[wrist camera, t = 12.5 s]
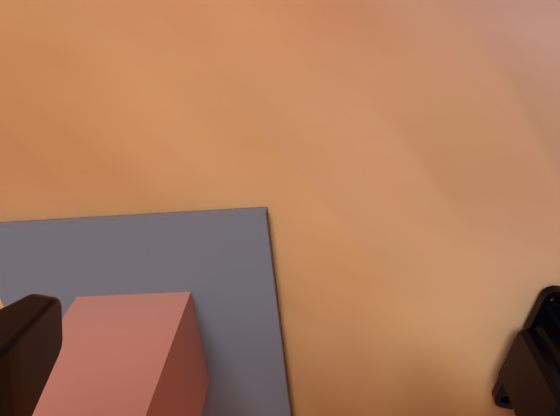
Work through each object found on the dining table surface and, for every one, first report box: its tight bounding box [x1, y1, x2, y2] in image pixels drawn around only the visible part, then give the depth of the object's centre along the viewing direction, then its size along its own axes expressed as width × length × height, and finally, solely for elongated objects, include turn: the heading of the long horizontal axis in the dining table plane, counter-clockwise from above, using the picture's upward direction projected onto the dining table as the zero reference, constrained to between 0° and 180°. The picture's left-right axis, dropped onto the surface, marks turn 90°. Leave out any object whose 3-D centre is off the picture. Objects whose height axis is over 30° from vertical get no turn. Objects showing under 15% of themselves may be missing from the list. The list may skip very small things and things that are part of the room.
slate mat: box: [0, 207, 292, 416], centre depth 23 cm, size 12×12×1 cm
